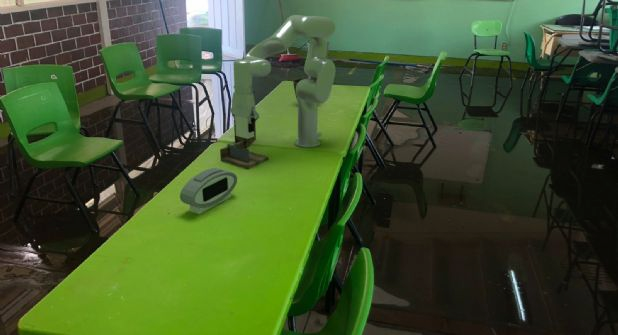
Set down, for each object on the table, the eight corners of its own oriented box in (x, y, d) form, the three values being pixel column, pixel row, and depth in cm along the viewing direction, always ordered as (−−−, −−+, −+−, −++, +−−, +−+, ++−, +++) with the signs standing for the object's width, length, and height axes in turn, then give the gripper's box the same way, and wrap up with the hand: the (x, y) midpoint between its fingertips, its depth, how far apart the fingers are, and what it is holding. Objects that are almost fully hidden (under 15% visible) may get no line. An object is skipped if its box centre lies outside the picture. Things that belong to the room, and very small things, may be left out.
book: (246, 137, 242) (244, 89, 233) (256, 138, 241) (255, 89, 232) (235, 148, 227) (232, 97, 218) (246, 149, 226) (244, 97, 217)
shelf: (242, 152, 223) (241, 136, 220) (268, 159, 214) (268, 144, 212) (220, 160, 213) (219, 144, 210) (247, 169, 204) (246, 152, 201)
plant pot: (316, 109, 293) (317, 84, 287) (292, 109, 293) (292, 83, 287) (316, 103, 307) (317, 78, 301) (293, 103, 307) (293, 78, 301)
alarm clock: (194, 218, 163) (191, 184, 158) (181, 214, 166) (178, 180, 161) (238, 194, 181) (236, 163, 176) (226, 190, 184) (224, 159, 179)
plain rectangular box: (242, 133, 212) (241, 111, 208) (254, 136, 208) (253, 114, 204) (235, 135, 209) (234, 113, 205) (247, 138, 205) (247, 116, 201)
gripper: (222, 88, 203) (224, 128, 209) (252, 94, 193) (253, 136, 200) (234, 85, 208) (236, 124, 215) (265, 91, 199) (265, 132, 206)
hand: (244, 129), depth 207 cm, fingers closed on plain rectangular box, 7 cm apart
